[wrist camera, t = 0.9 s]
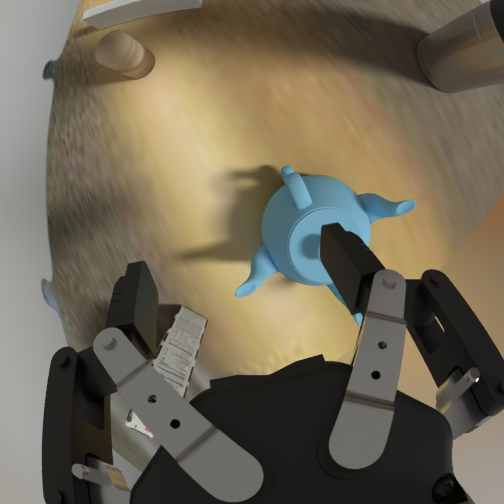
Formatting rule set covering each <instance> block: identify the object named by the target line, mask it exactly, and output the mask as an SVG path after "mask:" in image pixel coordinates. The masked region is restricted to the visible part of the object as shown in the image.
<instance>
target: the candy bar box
mask: <svg viewBox="0 0 504 504" xmlns="http://www.w3.org/2000/svg"><path fill="white" fill-rule="evenodd" d="M207 322H208V319H207V318H205V317H203V316H201V315H199V314H197V313H195V312H193V311H191V310H189V309H188V308H186V307H184V306H182V305H180V306H179V308H178V310H177V312H176V314H175V316H174V318H173V320H172V321H171V323H170V325H169V327H168V329H167V331H166V333H165V335H164V337H163V339H162V341H161V343H160V345H159V347H158V349H157V351H156V358H153V359H152V361H151V365H152V366H153V367H154V368H155V369H156V370H157V371H158V373H159V374H160V375H161V376H162V377H163V378H164V379H165V380H166V381H167V382H168V383H169V384H170V385H171V386H172V387H173V388H174V389H175V390H176V391H177V392H178V393H179V394H180V395H181V396H182V397H183V398H185V395H186V391H187V387H188V384H189V381H190V378H191V374H192V371H193V368H194V364H195V360H196V357H197V354H198V350H199V347H200V344H201V341H202V337H203V334H204V331H205V328H206V325H207ZM125 425H126V426H128V427H130V428H132V429H134V430H136V431H138V432H140V433H142V434H145V435H147V436H148V437H150V438H153V439H156V438H155V437H154V436H153V435H152V433H151V432H150V431H149V430H148V429H147V428H146V426H145V425H144V424H143V423H142V422H141V420H140V419H139V418H138V417H137V415H136V414H135V413H134V412H133V410H132V409H130V411H129V414H128V416H127V419H126V422H125Z"/></svg>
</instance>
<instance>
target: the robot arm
mask: <svg viewBox="0 0 504 504" xmlns="http://www.w3.org/2000/svg"><path fill="white" fill-rule="evenodd" d="M416 56H417V61H418V64H419V66H420V68H421V70H422V72H423V74H424V75H425V77H426V78H427V79H428V80H429V81H430V83H432V84H433V85H434V86H435V87H436V88H438V89H439V90H441V91H443V92H446V93H456V92H460V91H465V90H470V89H475V88H480V87H485V86H490V85H495V84H501V83H504V0H490V1H487V2H485V3H483V4H481V5H480V6H478V7H476V8H474V9H472V10H471V11H469V12H467V13H465V14H463V15H462V16H460V17H458V18H456V19H455V20H453V21H451V22H449V23H448V24H446V25H444V26H443V27H441V28H439V29H438V30H436V31H434V32H433V33H431V34H429V35H428V36H426V37H425V38H423V39H422V40H420V41H419V43H418V45H417V48H416ZM320 259H321V262H322V264H323V266H324V268H325V270H326V271H327V273H328V275H329V276H330V278H331V280H332V281H333V283H334V285H335V287H336V288H337V290H338V292H339V293H340V295H341V297H342V299H343V300H344V302H345V304H346V306H347V307H348V309H349V311H350V313H351V315H355V314H358V313H361V314H362V316H363V318H362V321H361V325H360V329H359V333H358V337H357V341H356V344H355V348H354V351H353V355H352V358H351V361H350V364H345V363H342V362H335V361H325V360H324V357H323V355H322V354H321V355H317V356H314V357H310V358H307V359H303V360H299V361H296V362H294V363H292V364H290V365H288V366H286V367H284V368H282V369H280V370H278V371H276V372H274V373H272V374H270V375H235V376H230V377H224V378H219V379H213V380H210V387H211V388H209V389H207V390H205V391H203V392H201V393H200V394H198V395H197V396H196V397H194V398H193V399H192V400H191V401H190V402H189V403H188V402H187V401H186V400H185V399H184V398H183V397H182V396H181V395H180V394H179V393H178V392H177V391H176V390H175V389H174V388H173V387H172V386H171V385H170V384H169V383H168V382H167V381H166V380H165V379H164V378H163V377H162V376H161V375H160V374H159V373H158V371H157V370H156V369H155V368H154V367H153V366H152V365H151V364H150V363H149V362H148V359H151V358H156V341H157V313H158V291H157V287H156V285H155V282H154V280H153V278H152V275H151V273H150V271H149V268H148V266H147V264H146V262H145V261H144V260H143V261H139V262H134V263H129V264H128V266H127V270H126V275H125V276H122V277H120V278H119V279H118V281H117V282H116V284H115V285H114V289H113V293H112V295H113V296H112V298H111V304H110V307H109V312H108V317H107V322H106V328H105V330H103V331H101V332H100V333H99V334H98V335H97V336H96V338H95V340H94V343H93V346H92V347H89V348H87V349H85V350H83V351H80V352H78V353H77V352H76V351H75V350H74V349H73V348H71V347H63V348H61V349H59V350H58V351H57V352H56V353H55V354H54V356H53V358H52V360H51V365H50V370H49V377H48V384H47V390H46V398H45V407H44V418H43V433H42V434H43V435H42V480H43V493H44V494H43V495H44V499H45V502H46V504H475V503H474V502H473V500H472V499H471V498H470V496H469V495H468V494H467V493H466V492H465V490H464V489H463V488H462V487H461V485H460V484H459V483H458V481H457V480H456V478H455V476H454V472H453V466H452V445H453V440H454V439H456V438H457V437H459V436H461V435H462V434H463V433H469V432H471V431H473V430H474V429H476V428H477V427H479V426H480V425H482V424H483V423H485V422H486V421H488V420H489V419H491V418H492V417H494V416H495V415H496V414H498V413H499V412H501V411H502V410H503V409H504V360H503V358H502V356H501V354H500V352H499V351H498V349H497V347H496V346H495V344H494V343H493V341H492V339H491V338H490V336H489V334H488V333H487V331H486V330H485V328H484V327H483V325H482V324H481V322H480V321H479V319H478V318H477V316H476V315H475V313H474V312H473V311H472V309H471V308H470V306H469V305H468V304H467V302H466V301H465V299H464V298H463V297H462V295H461V294H460V293H459V291H458V290H457V289H456V287H455V286H454V285H453V283H452V282H451V281H450V280H449V278H448V277H447V276H446V275H445V274H444V273H442V272H440V271H438V270H433V269H430V270H426V271H425V272H424V273H423V275H422V277H421V279H404V277H403V276H402V275H401V274H399V273H398V272H396V271H393V270H389V269H385V267H384V266H383V265H382V263H381V262H380V261H379V260H378V258H377V257H376V256H375V255H374V254H373V252H372V251H371V250H370V249H369V247H368V246H367V245H365V243H364V241H363V240H362V239H361V238H360V237H359V236H358V235H356V234H355V233H353V232H351V231H345V229H344V228H343V227H342V226H341V225H340V223H338V222H336V223H330V224H325V225H322V227H321V238H320ZM435 316H436V317H437V318H438V320H439V321H440V323H441V325H442V326H443V328H444V331H443V330H442V328H441V327H440V325H439V323H438V322H437V320H436V319H435ZM406 328H407V329H408V331H409V333H410V335H411V337H412V338H413V340H414V342H415V344H416V346H417V347H418V349H419V351H420V353H421V355H422V357H423V359H424V361H425V363H426V365H427V367H428V369H429V371H430V372H431V375H432V377H433V379H434V381H435V383H436V385H437V387H438V390H437V393H436V401H437V402H436V408H437V410H436V409H434V408H432V407H430V406H428V405H426V404H424V403H422V402H420V401H418V400H416V399H414V398H412V397H410V396H408V395H406V394H404V393H402V392H400V391H399V390H397V385H398V379H399V374H400V368H401V362H402V356H403V349H404V342H405V333H406ZM444 332H445V333H444ZM117 391H118V392H119V393H120V395H121V396H122V397H123V399H124V400H125V401H126V403H127V404H128V405H129V407H130V408H131V409H132V410H133V412H134V413H135V414H136V415H137V417H138V418H139V419H140V420H141V422H142V423H143V424H144V425H145V426H146V428H147V429H148V430H149V431H150V432H151V433H152V435H153V436H154V437H155V438H156V439H157V440H158V441H159V442H160V444H161V446H160V447H159V449H158V450H157V452H156V453H155V455H154V456H153V458H152V459H151V461H150V462H149V464H148V465H147V467H146V468H145V470H144V471H143V473H142V474H141V476H140V477H139V479H138V480H137V482H136V483H135V484H134V486H133V488H132V490H130V489H129V488H128V486H127V484H126V482H125V479H124V476H123V474H122V472H121V471H120V470H119V469H118V468H117V467H115V466H113V456H112V441H111V416H110V394H112V393H115V392H117Z"/></svg>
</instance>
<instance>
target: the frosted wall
mask: <svg viewBox="0 0 504 504" xmlns="http://www.w3.org/2000/svg"><path fill="white" fill-rule="evenodd" d="M202 1H203V0H115V1H112V2H109V3H106V4H103V5H100V6H97V7H95V8H92V9H90V10H87V11H85V12H84V14H83V18H82V20H84V21H85V22H87V23H89V24H90V25H92V26H94V27H95V28H97V29H99V30H101V29H104V28H107V27H110V26H113V25H117V24H120V23H123V22H127V21H131V20H135V19H139V18H143V17H147V16H152V15H157V14H162V13H167V12H173V11H179V10H186V9H193V8H202Z"/></svg>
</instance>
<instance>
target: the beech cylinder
mask: <svg viewBox="0 0 504 504" xmlns="http://www.w3.org/2000/svg"><path fill="white" fill-rule="evenodd" d="M95 58H96V60H97V62H98V63H100V64H102V65H104V66H106V67H109V68H111V69H113V70H115V71H117V72H119V73H121V74H123V75H125V76H127V77H129V78H132V79H141V78H143V77H145V76H147V75H148V74H149V73H150V72H151V71H152V69H153V67H154V65H155V56H154V54H153V53H152V52H150V51H149V50H148V49H147V48H145V47H144V46H143V45H142V44H140V43H139V42H138V41H137V40H135V39H134V38H133V37H131V36H130V35H129V34H128V33H126V32H125V31H122V30H116V31H112V32H110V33H108V34H107V35H105V36H104V37H103V38H102V39H101V40H100V42H99V43H98V45H97V47H96V50H95Z"/></svg>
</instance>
